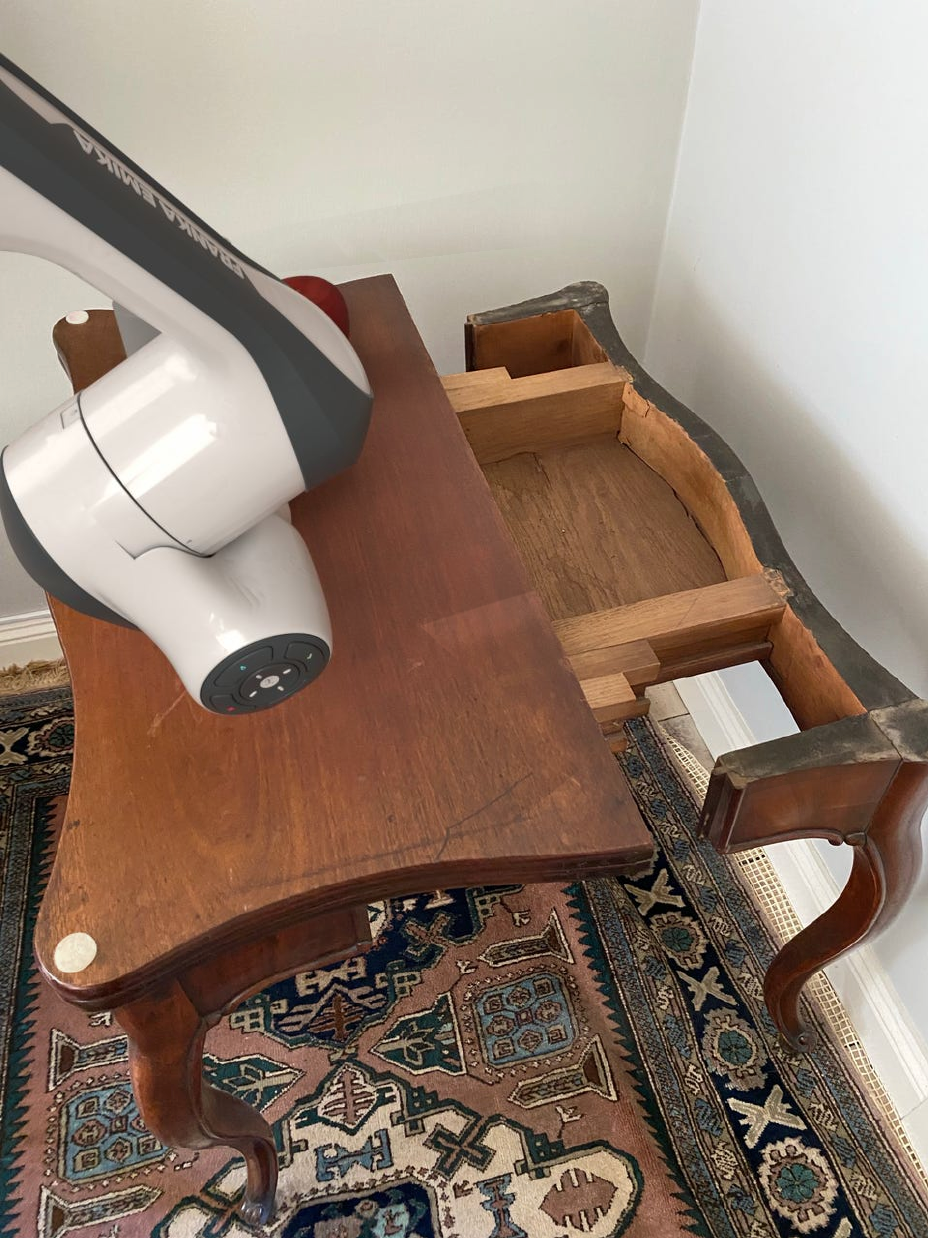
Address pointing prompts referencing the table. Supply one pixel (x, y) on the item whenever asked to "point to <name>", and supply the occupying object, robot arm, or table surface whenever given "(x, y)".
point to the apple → (323, 298)
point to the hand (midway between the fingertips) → (168, 377)
